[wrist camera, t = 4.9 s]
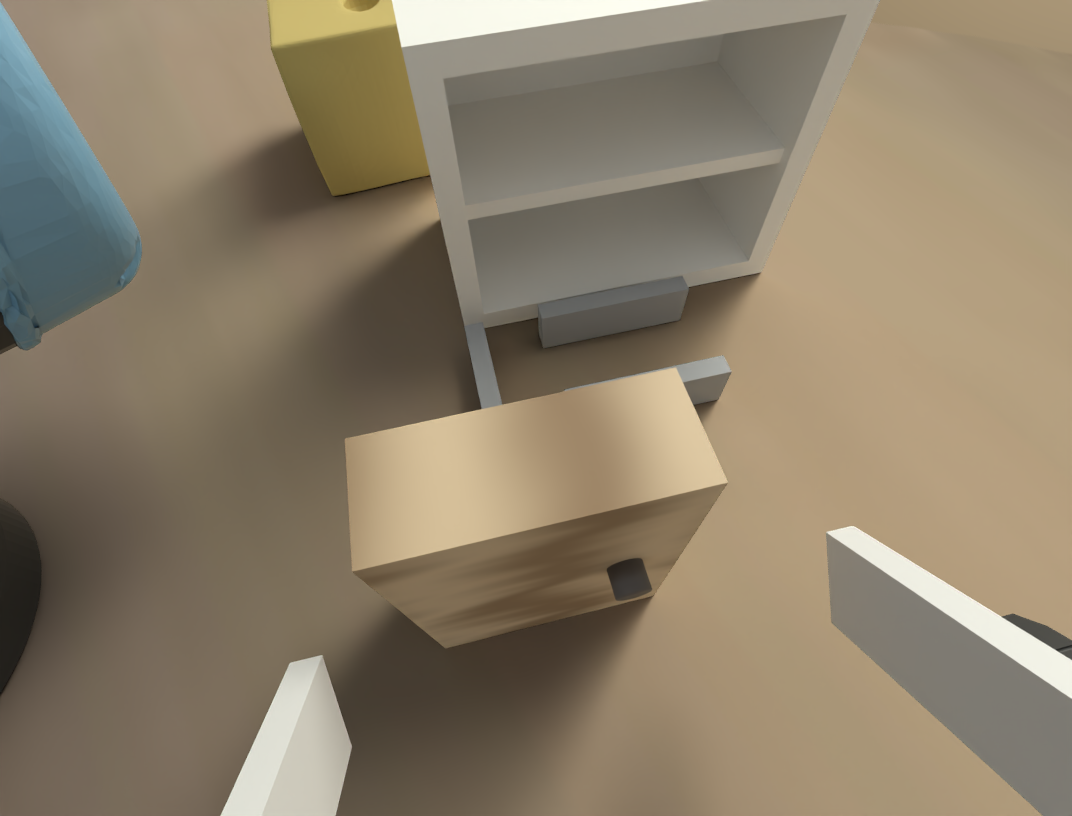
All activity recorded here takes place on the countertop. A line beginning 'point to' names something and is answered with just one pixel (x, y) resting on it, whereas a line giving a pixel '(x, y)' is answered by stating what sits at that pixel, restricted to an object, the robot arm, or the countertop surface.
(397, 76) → the cheese
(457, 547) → the door
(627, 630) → the countertop surface
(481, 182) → the cabinet
